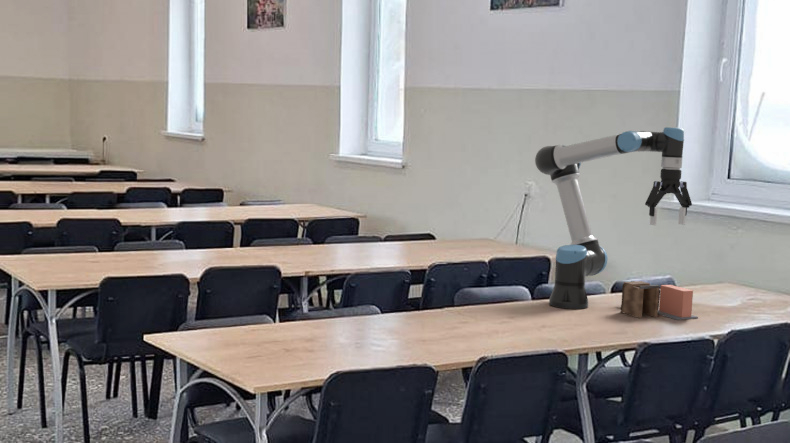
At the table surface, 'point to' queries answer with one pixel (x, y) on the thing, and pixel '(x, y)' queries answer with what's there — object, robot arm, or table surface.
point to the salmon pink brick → (676, 300)
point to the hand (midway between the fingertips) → (667, 224)
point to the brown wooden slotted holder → (640, 299)
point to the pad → (675, 316)
